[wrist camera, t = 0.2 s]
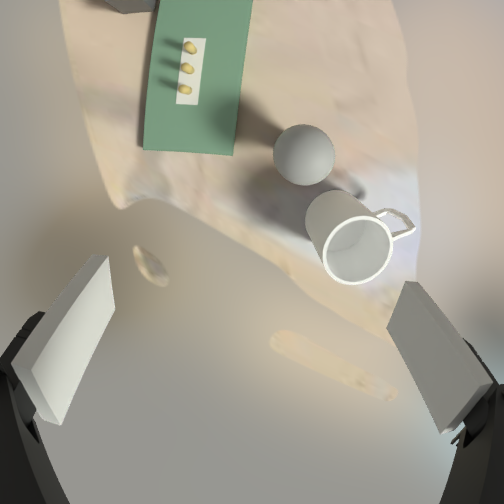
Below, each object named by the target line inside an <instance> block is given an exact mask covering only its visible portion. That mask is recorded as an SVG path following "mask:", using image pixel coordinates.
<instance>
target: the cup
mask: <svg viewBox="0 0 504 504" xmlns="http://www.w3.org/2000/svg"><path fill="white" fill-rule="evenodd" d="M387 213H388V214H390V215H392V216H394V217H396V218H398V219H400V220H402V221H403V223H404V224H405V226H406V227H407V229H406V230H402V231H397V232H392V233H391V232H390V231H389V229H388V227H387V226H386V225H385V224H384V223H383V222H382V221H381V220H380V219H379V217H381V216H383V215H385V214H387ZM305 226H306V230H307V232H308V235H309V237H310V239H311V241H312V243H313V245H314V247H315V249H316V251H317V253H318V255H319V257H320V259H321V261H322V263H323V265H324V267H325V269H326V271H327V273H328V274H329V275H330V276H331V277H332V278H333V279H334V280H336V281H338V282H340V283H343V284H346V285H357V284H362V283H365V282H368V281H370V280H372V279H373V278H375V277H376V276H378V275H379V274H380V273H381V272H382V271H383V270H384V268H385V267H386V266H387V264H388V262H389V260H390V258H391V255H392V250H393V241H394V240H396V239H399V238H402V237H404V236H407V235H409V234H412V233H413V232H414V231H415V230H416V229H415V226H414V224H413V223H412V222H411V220H410V219H409V218H408V216H407V215H405V214H403V213H401V212H398V211H396V210H394V209H387V208H384V209H381V210H379V211H376V212H373V213H372V212H371V211H370V210H369V209H368V208H367V207H365V206H364V205H363V204H362V203H361V202H360V201H359V200H357V199H356V198H355V197H354V196H353V195H351V194H350V193H348V192H345V191H341V190H331V191H327V192H324V193H322V194H320V195H319V196H318V197H316V198H315V199H314V200H313V201H312V202H311V204H310V205H309V207H308V209H307V212H306V216H305Z"/></svg>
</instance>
